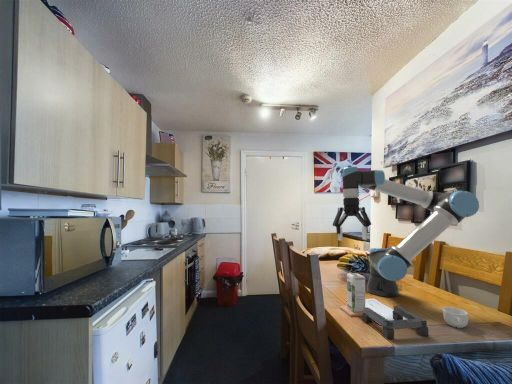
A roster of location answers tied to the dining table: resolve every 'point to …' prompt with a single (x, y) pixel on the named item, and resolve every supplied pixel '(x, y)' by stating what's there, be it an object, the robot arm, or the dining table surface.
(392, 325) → the grey stand frame
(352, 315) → the terracotta tile
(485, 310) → the dining table surface
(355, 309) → the syrup box
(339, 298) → the dining table surface
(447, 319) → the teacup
